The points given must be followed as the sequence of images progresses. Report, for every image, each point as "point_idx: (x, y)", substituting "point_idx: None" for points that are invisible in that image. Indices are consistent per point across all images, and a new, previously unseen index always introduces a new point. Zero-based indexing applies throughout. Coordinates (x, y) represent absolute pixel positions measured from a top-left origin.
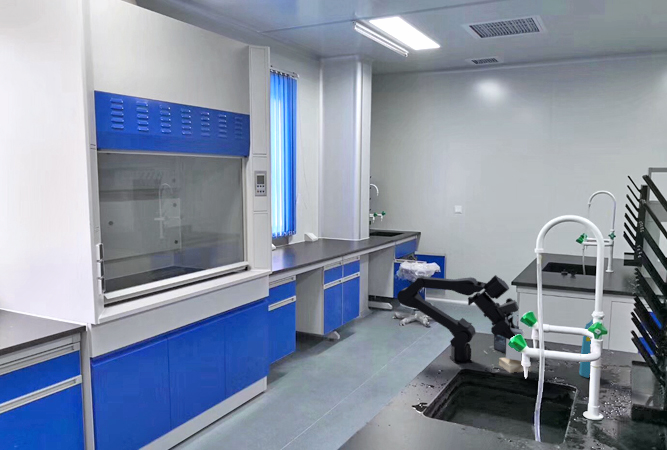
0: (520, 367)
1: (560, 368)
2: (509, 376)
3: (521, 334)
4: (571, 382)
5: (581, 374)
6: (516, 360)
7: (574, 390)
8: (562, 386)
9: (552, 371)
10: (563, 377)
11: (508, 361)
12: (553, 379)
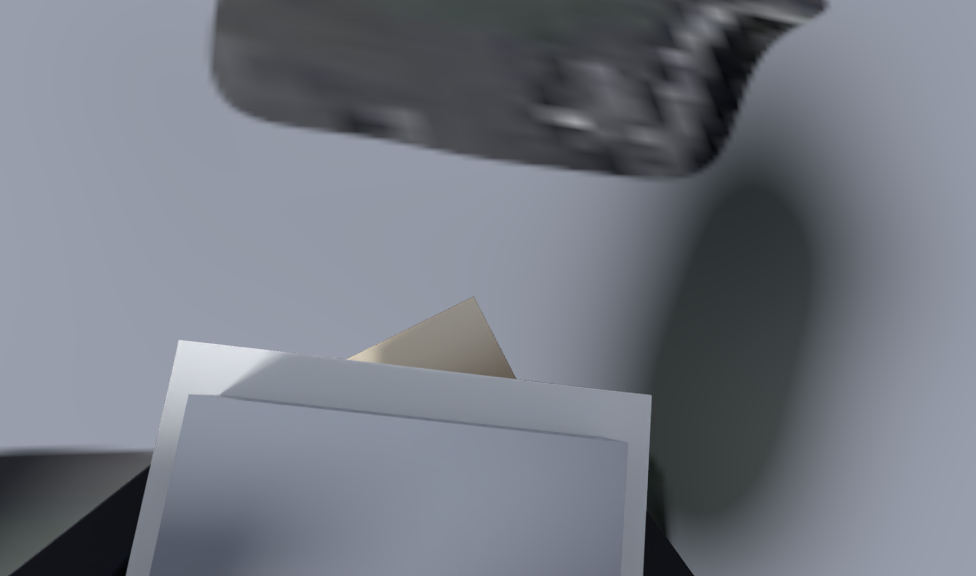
0: None
1: (314, 42)
2: (669, 520)
3: (581, 435)
4: (630, 17)
5: None
6: None
7: (784, 27)
8: (738, 95)
9: (414, 120)
10: (538, 56)
11: None
12: (611, 139)
